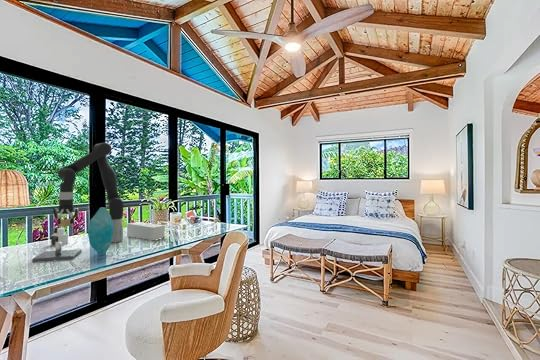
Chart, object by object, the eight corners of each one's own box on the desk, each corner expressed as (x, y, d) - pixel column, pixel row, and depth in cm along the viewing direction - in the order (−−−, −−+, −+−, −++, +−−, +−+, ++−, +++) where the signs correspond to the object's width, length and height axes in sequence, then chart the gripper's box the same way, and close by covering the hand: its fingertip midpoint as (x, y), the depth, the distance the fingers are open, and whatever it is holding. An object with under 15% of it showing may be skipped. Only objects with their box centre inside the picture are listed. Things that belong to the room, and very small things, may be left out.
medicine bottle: (50, 244, 200) (51, 228, 200) (61, 242, 207) (61, 226, 207) (57, 245, 198) (58, 229, 198) (68, 243, 205) (68, 227, 205)
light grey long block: (126, 236, 232) (127, 223, 232) (138, 234, 241) (138, 221, 241) (153, 241, 217) (153, 227, 217) (164, 238, 227) (164, 225, 226)
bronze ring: (72, 224, 189) (72, 218, 189) (69, 226, 183) (69, 220, 183) (62, 224, 187) (62, 219, 187) (58, 226, 182) (58, 220, 182)
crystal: (90, 252, 182) (90, 206, 182) (114, 251, 187) (114, 206, 186) (85, 258, 171) (85, 209, 170) (111, 256, 176) (111, 208, 175)
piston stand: (81, 252, 183) (81, 238, 183) (73, 259, 168) (73, 244, 168) (44, 254, 176) (44, 240, 176) (32, 262, 161) (32, 246, 161)
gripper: (80, 198, 191) (80, 222, 191) (55, 198, 187) (55, 223, 187) (77, 199, 184) (76, 224, 184) (50, 199, 179) (50, 225, 180)
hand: (65, 223), depth 185 cm, fingers closed on bronze ring, 6 cm apart
